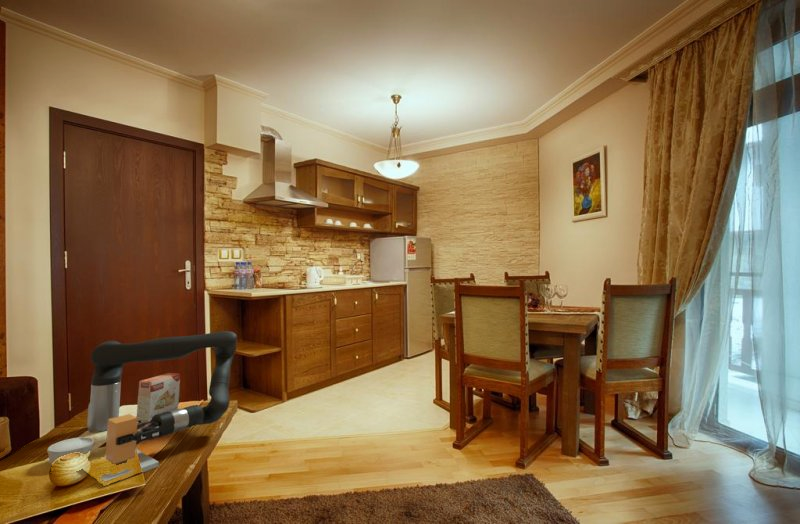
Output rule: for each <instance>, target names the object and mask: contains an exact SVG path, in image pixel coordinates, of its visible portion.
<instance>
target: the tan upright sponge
mask: <svg viewBox="0 0 800 524" xmlns="http://www.w3.org/2000/svg"><path fill="white" fill-rule="evenodd" d="M137 420H138V418H137V416H134V415H132V414H131V413H128V414H124V415H119V417H115V418H111V419H108V425H107V430H106V442H105V443H106V444H105V456H106V457H105V459H106V460H108V461H109V462H111V463H112V464H116V463H119V462H122V461H125V460H128V459H131V458H134V457H135V454H136V449H137V442H136V441H135V442H132V441H131V442H128V443H124V444H121V445H116V439H117V438H118V437H121V436H124V435H128V434H131V435H132V433H134V432H137Z"/></svg>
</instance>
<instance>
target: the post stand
mask: <svg viewBox="0 0 800 524" xmlns="http://www.w3.org/2000/svg"><path fill="white" fill-rule="evenodd" d="M136 450H137V453H138V457H139V461H140V466H141V469H142V471H143V473H145V472H149V471H151V470H154V469H157V468H159V467H160V465H159V464H160V463H159V461H158V460H157V459H155V458H153V457H151V456H149V455H148V454H146V453H145V452H143V451H140V450H139V449H137V448H136ZM126 462H127V460H125V461H122V462H119V463H116V465H119V464H122V463H126ZM133 471H134V470H133ZM133 471H132V470H128V469H127V470H126V469H124V470H122V471H121V472H118V473H116V474H112V473H109V474H104V475H102V477H100V478H101V479H102V480H103V481H104V482H106V481H109V480H112V479H114V478H117V477H119V476H122V475H125V474H128V473H131V472H133Z"/></svg>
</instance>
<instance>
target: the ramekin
mask: <svg viewBox="0 0 800 524" xmlns="http://www.w3.org/2000/svg"><path fill="white" fill-rule="evenodd" d="M94 444H95V439H94V438H92V437H86V436H84V437H83V436H82V437H81V436H80V437H73V438H67V439H64V440H61V441H58V442H56V443H52V444H51V445H50V446H49V447H48V448H47V451H46V452H47V455H48V460H49V464H50V465H51V464H52V463H53V462H54V461H55V460H56V459H57V458H59V457H61V456H64V455H67V454H70V453H74V452H80V453H83V454H87V453H88V452H89V451H91V452H92V449H93V446H94Z"/></svg>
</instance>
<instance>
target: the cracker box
mask: <svg viewBox="0 0 800 524" xmlns="http://www.w3.org/2000/svg"><path fill="white" fill-rule="evenodd" d="M180 384H181V374H180V373H175V372H166V373H163V374H160V375H157V376H153V377H150V378H146V379H142V380H140V381H139V382H138V394H137V406H136V407H137V409H136V417H137V418H138V420H141V423H142V422H146V421H147V422H150V421H151V420H152V418H153V416H154V415H156V414H160V413H164V412H167V411H171V410H175V409H179V399H180ZM138 420H137V421H138Z"/></svg>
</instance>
